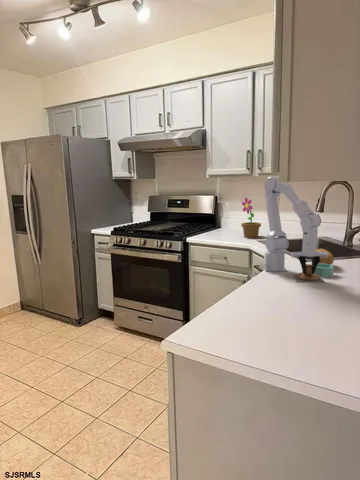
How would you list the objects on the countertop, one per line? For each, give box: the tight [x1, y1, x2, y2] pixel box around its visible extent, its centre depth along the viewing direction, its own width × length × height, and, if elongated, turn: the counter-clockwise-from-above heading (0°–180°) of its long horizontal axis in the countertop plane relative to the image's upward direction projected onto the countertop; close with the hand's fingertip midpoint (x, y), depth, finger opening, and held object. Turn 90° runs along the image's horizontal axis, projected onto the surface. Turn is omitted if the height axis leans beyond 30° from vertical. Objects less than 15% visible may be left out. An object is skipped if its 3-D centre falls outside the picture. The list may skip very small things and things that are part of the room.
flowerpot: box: [241, 196, 262, 239], centre depth 241 cm, size 14×14×30 cm
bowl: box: [314, 264, 335, 278], centre depth 146 cm, size 8×8×4 cm
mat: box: [292, 274, 325, 283], centre depth 140 cm, size 11×9×1 cm
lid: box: [296, 263, 320, 281], centre depth 140 cm, size 9×9×6 cm
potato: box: [317, 248, 335, 265], centre depth 158 cm, size 10×14×8 cm
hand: (308, 273), depth 140 cm, fingers closed on lid, 3 cm apart
